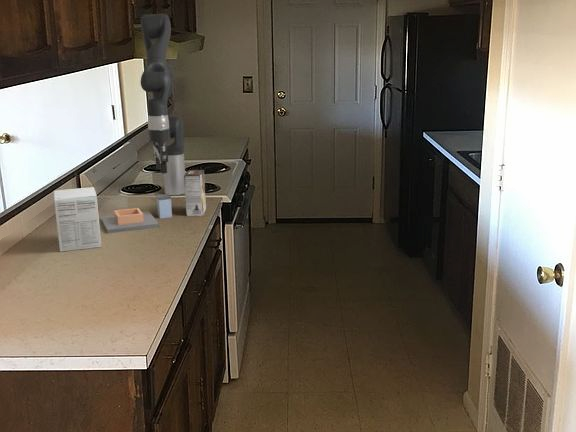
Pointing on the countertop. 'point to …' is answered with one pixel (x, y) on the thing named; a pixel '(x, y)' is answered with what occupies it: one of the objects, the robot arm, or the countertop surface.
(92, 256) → the countertop surface
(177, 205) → the countertop surface
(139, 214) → the socket dock
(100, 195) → the countertop surface
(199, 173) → the coffee box
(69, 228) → the supplement box
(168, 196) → the plug
